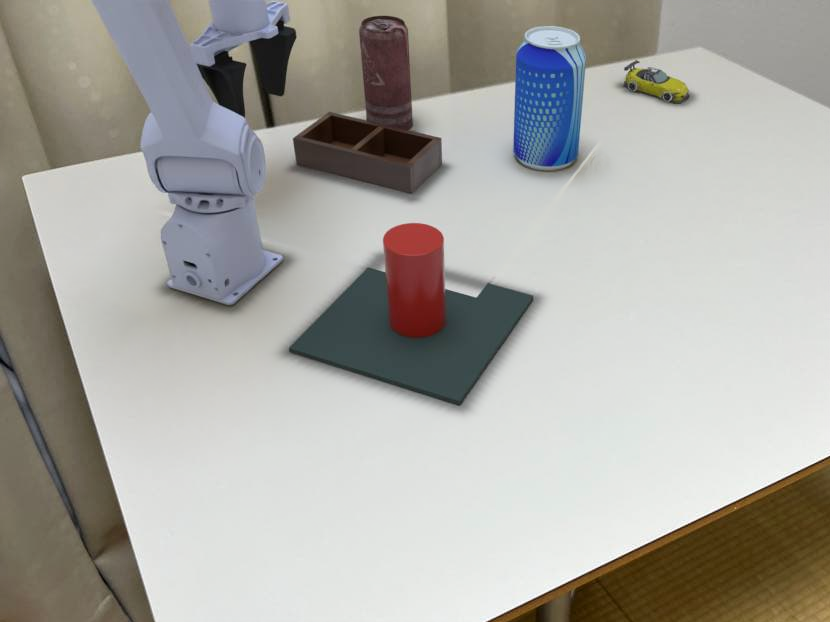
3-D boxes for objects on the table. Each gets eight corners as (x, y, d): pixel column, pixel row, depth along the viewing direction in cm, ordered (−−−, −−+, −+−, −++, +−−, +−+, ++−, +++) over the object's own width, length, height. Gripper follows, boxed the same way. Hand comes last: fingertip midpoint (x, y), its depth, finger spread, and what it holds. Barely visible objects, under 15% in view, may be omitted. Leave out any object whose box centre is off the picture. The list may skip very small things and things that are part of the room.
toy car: (678, 106, 130) (681, 86, 128) (619, 87, 134) (621, 68, 132) (693, 94, 133) (696, 75, 131) (635, 77, 137) (637, 57, 135)
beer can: (501, 165, 114) (503, 39, 103) (531, 139, 120) (537, 18, 109) (559, 182, 112) (568, 55, 101) (588, 156, 117) (599, 33, 106)
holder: (411, 198, 107) (409, 167, 104) (297, 168, 111) (292, 138, 108) (442, 168, 113) (441, 137, 110) (332, 141, 117) (329, 111, 114)
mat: (459, 405, 81) (459, 401, 80) (289, 351, 85) (288, 347, 85) (533, 299, 93) (533, 295, 93) (381, 257, 97) (381, 253, 97)
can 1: (407, 141, 118) (401, 34, 108) (361, 135, 118) (351, 27, 109) (420, 122, 122) (416, 17, 113) (376, 115, 123) (368, 11, 113)
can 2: (430, 343, 86) (426, 261, 80) (379, 328, 87) (371, 246, 81) (455, 312, 90) (453, 231, 84) (406, 298, 91) (400, 217, 85)
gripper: (222, 7, 85) (247, 140, 94) (306, -35, 95) (321, 89, 104) (161, -6, 86) (191, 126, 96) (250, -46, 96) (269, 77, 106)
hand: (255, 106), depth 100 cm, fingers open, 7 cm apart
